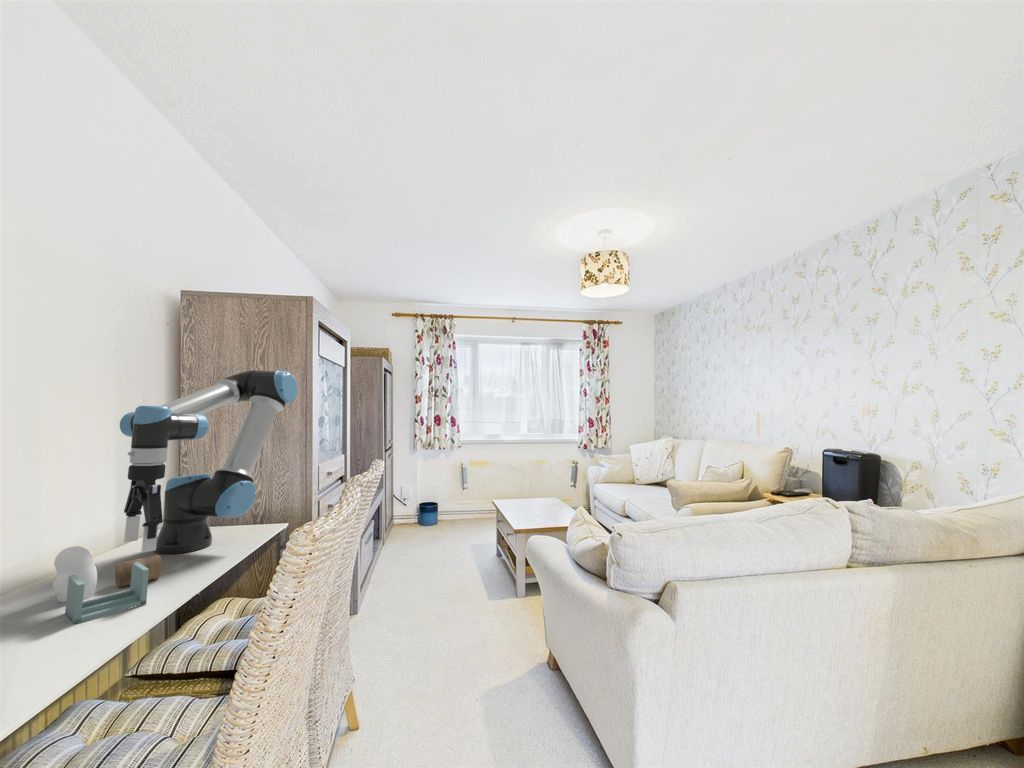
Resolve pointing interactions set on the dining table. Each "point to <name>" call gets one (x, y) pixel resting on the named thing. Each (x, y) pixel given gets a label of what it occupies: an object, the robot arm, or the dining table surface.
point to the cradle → (106, 597)
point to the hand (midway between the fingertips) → (139, 546)
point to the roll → (125, 569)
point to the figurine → (74, 571)
